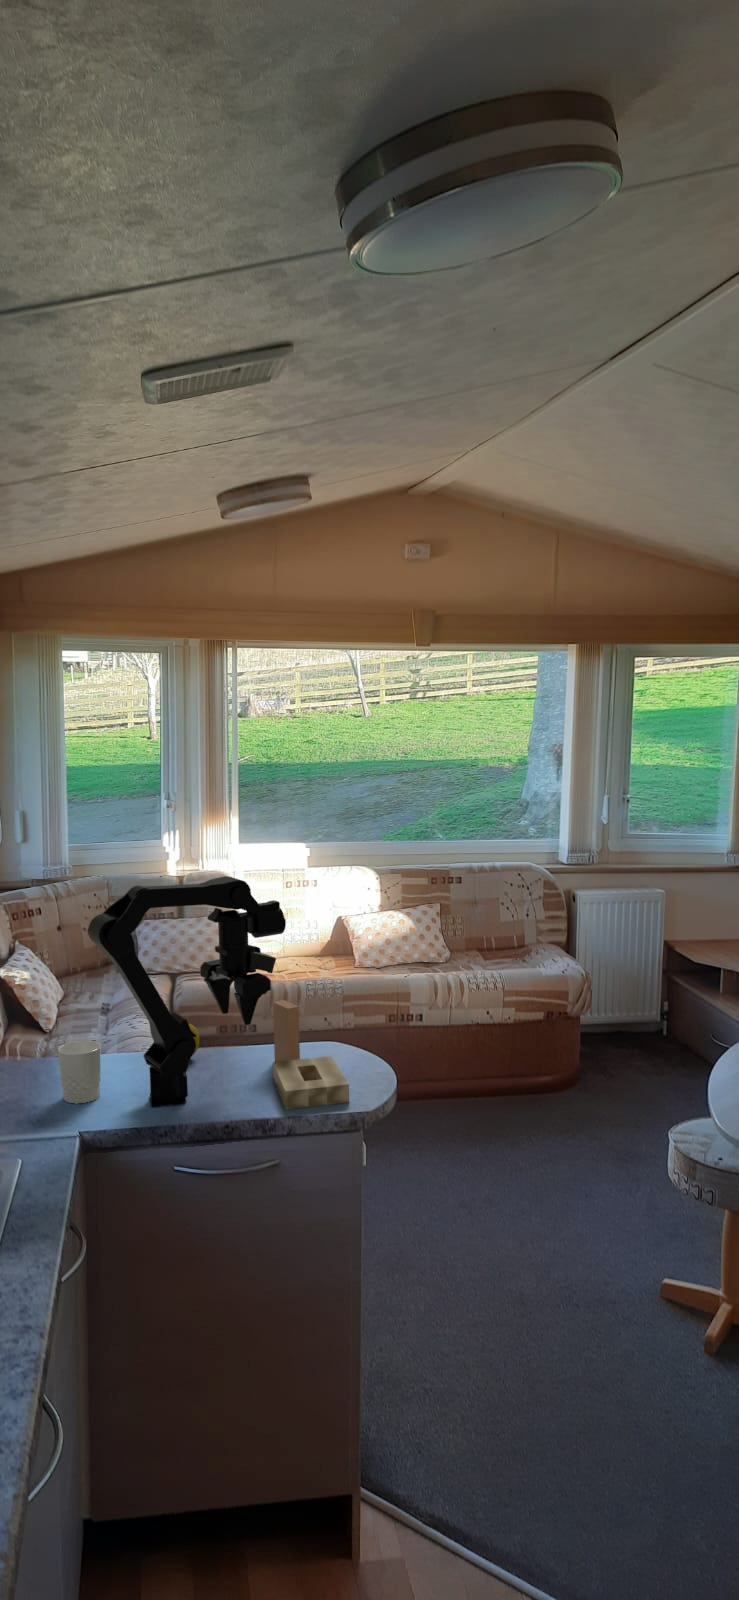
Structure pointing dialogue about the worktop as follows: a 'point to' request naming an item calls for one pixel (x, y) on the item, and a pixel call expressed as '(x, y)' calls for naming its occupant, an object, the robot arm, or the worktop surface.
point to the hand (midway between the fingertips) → (236, 1019)
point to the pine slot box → (310, 1082)
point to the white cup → (80, 1071)
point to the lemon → (196, 1036)
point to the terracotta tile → (286, 1031)
